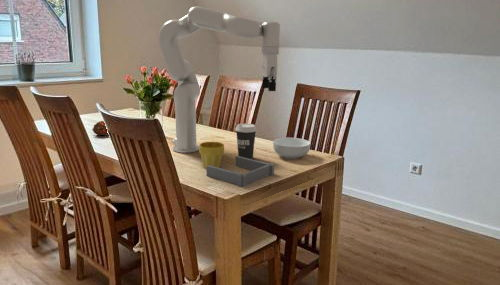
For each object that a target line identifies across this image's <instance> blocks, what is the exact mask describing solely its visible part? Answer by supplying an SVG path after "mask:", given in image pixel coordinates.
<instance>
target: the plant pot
mask: <svg viewBox="0 0 500 285" xmlns="http://www.w3.org/2000/svg"><path fill="white" fill-rule="evenodd" d="M198 146H199V150H198V152H199V154H200V156H201V160H202V166H203V168H204V169H206V170H207V166H208V165H211V166H214V167H218V168H220V166H221V161H222V157H223V154H224V153H225V144H224V143H222V142H220V141H204V142H201V143H200V144H199V145H198Z"/></svg>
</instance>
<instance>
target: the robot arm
mask: <svg viewBox="0 0 500 285" xmlns="http://www.w3.org/2000/svg"><path fill="white" fill-rule="evenodd" d="M201 29H206V30H207V29H208V30H212V31H216V32H220V33H223V34H230V35H233V36H239V37H243V38H245V39H251V40H253V39H261V54H262V56H261V63H260V64H261V66H260V75H261V76H262V77H261V78H262V82H261V84H262V85H261V87H262V89H268V92H276V90H277V75H278V55H280V54H279V53H280V35H281V34H280V32H281V26H280V23H279V22H277V21H264V22H263V21H257V20H252V19H249V18H248V19H246V18H243V17H239V16H235V15H232V14H229V13H228V12H224V11H220V10H216V9H212V8H207V7H203V6H198V5H197V6H196V5H195V6H192V7H191V8H190V9H189V10H188V12H187V15H185V16H183V17H182V18H180V19H170V20H168V21H166V22H165V23H164V24H163V25H162V26H161V28H160V29H159V33H158V44H159V48H160V51H161V53H162V56H163V57H162V58H163V60H164V63H165V66H166V70H167V72H168V76H169V77H170V79H171V80H172V81H174V82H177V84H178V86H176V87H175V89H174V90H173V91H174V92H173V103H174V109H175V110H174V111H175V113H174V114H175V138H174V139H173V140H172V141H171V142H172V143H173V144H174V146H173V148H172V150H173V151H174V152H175V153H183V154H186V153H188V154H189V153H195V152H199V145H197V108H196V100H197V99H198V98H199V97H200V93H201V87H200V85H199V81H198V78H197V75H196V72H195V70H194V67H193V65H192V64H191V62H190V61H189V60H186V59H185V58H184V56H183V53H182V50H181V47H180V45H179V43H178V40H183V39H186V38H188V37H189V36H191V35H193V34H195V33H196V32H198V31H200V30H201Z"/></svg>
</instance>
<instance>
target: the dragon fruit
mask: <svg viewBox="0 0 500 285" xmlns="http://www.w3.org/2000/svg"><path fill="white" fill-rule="evenodd" d="M105 123H106V122H105ZM105 123H104V120H100V121H97V122H96V123H95V124H94V125H93V127H92V129H91V131H92V132H93V133H94V134H95V135H96V134H97V135H96V136H99V135H104V136H105V135H106V134H107V135H109V134H108V133H107V129H106V126H105Z"/></svg>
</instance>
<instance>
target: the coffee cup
mask: <svg viewBox="0 0 500 285" xmlns="http://www.w3.org/2000/svg"><path fill="white" fill-rule="evenodd" d="M235 131H236V145H237V156H240V157H244V158H248V159H252V160H254V152H255V151H254V150H255V142H256V134H257V133H256V132H258V130H257V127H256V125H255V124H253V123H238V124H237V125H236V127H235Z"/></svg>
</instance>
